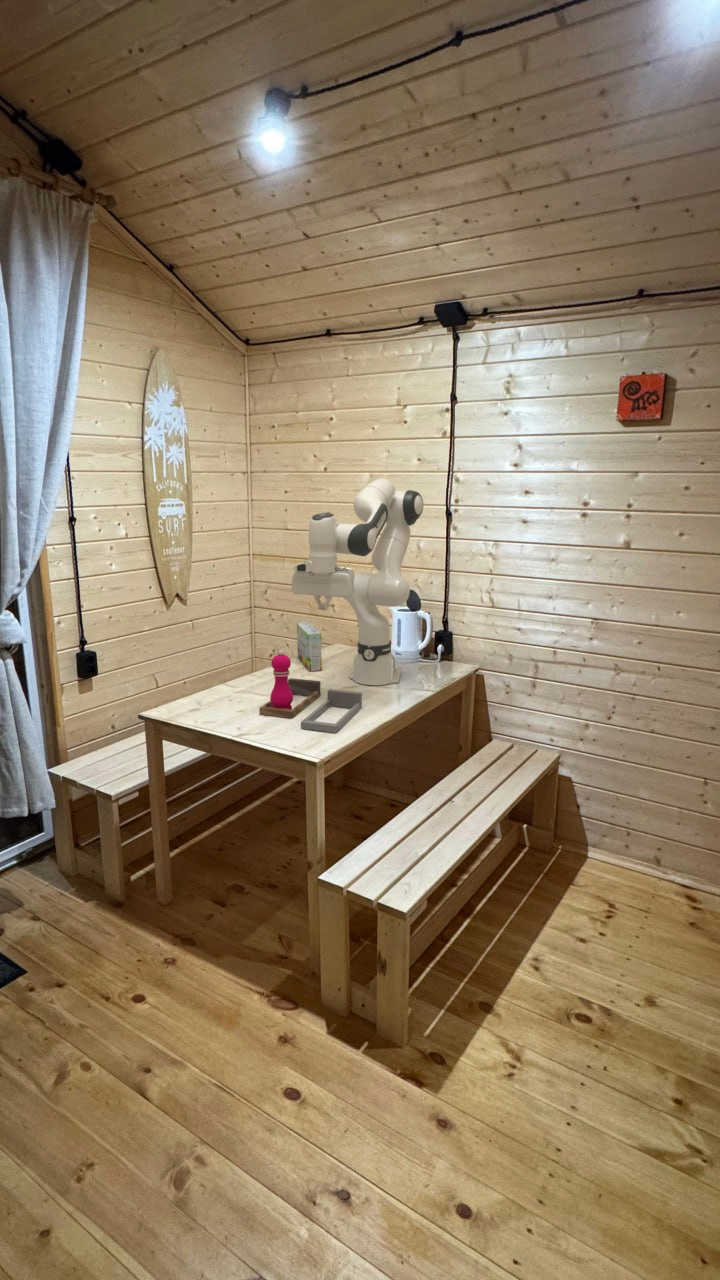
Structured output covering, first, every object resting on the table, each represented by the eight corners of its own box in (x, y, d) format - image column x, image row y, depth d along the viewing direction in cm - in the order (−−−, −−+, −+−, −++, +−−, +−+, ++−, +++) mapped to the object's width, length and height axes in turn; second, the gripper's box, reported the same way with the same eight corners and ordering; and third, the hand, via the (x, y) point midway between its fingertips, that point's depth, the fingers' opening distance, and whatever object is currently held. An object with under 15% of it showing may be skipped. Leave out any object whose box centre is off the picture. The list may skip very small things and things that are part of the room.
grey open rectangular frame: (329, 703, 225) (329, 689, 224) (361, 707, 222) (361, 692, 221) (300, 728, 203) (300, 712, 202) (336, 732, 200) (336, 716, 199)
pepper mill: (293, 707, 222) (292, 647, 217) (293, 715, 215) (292, 652, 210) (270, 708, 221) (269, 647, 217) (270, 715, 214) (268, 653, 210)
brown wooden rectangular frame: (290, 692, 237) (290, 678, 236) (320, 695, 234) (320, 681, 233) (259, 714, 215) (259, 698, 214) (292, 718, 212) (291, 702, 210)
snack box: (296, 658, 282) (295, 622, 278) (309, 657, 284) (309, 621, 280) (308, 672, 262) (308, 633, 259) (322, 671, 264) (322, 632, 260)
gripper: (357, 566, 216) (357, 609, 220) (297, 563, 223) (297, 605, 226) (351, 568, 211) (350, 613, 214) (289, 565, 217) (289, 609, 220)
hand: (322, 609), depth 220 cm, fingers closed
